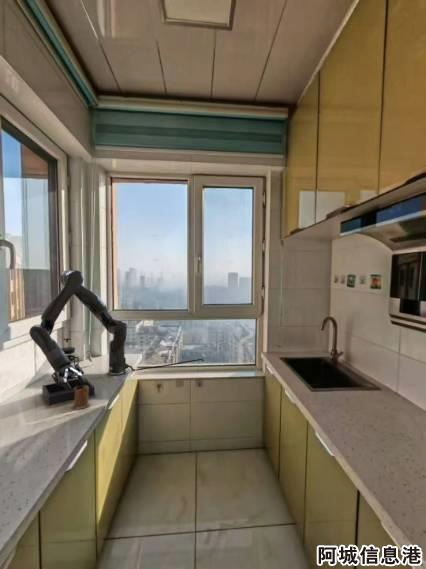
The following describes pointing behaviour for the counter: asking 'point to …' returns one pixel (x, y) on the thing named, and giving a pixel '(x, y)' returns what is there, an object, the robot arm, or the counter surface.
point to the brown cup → (81, 396)
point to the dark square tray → (63, 391)
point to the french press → (69, 351)
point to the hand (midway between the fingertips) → (77, 386)
